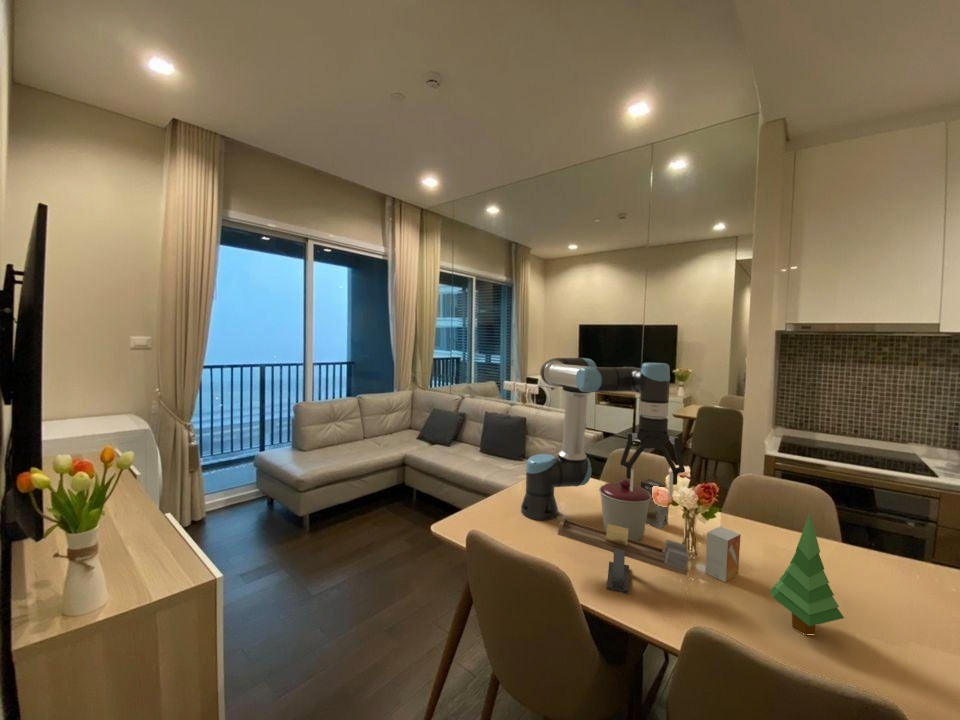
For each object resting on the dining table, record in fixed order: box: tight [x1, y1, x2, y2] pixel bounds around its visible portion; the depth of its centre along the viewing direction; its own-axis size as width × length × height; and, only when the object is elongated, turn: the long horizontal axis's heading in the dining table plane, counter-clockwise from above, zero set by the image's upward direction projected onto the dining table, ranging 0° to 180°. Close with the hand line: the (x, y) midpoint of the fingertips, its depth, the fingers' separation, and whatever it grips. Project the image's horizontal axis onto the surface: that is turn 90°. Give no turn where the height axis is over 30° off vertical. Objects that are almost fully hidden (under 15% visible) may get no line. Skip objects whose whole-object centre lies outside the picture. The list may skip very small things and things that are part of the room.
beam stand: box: [606, 547, 630, 595], centre depth 120 cm, size 14×6×12 cm, turn 160°
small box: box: [704, 526, 742, 583], centre depth 124 cm, size 8×6×13 cm
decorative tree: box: [769, 512, 845, 635], centre depth 100 cm, size 14×16×30 cm
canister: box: [598, 478, 652, 542], centre depth 147 cm, size 18×18×21 cm
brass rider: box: [606, 524, 628, 548], centre depth 120 cm, size 4×6×4 cm
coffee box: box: [640, 478, 670, 530], centre depth 158 cm, size 9×6×16 cm
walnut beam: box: [557, 514, 689, 577], centre depth 120 cm, size 8×36×6 cm, turn 70°
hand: (650, 492), depth 116 cm, fingers open, 10 cm apart
